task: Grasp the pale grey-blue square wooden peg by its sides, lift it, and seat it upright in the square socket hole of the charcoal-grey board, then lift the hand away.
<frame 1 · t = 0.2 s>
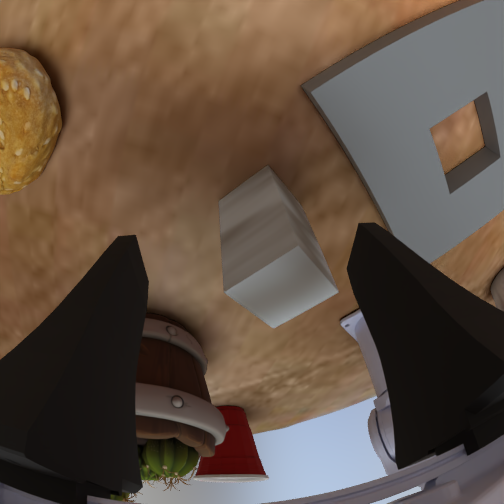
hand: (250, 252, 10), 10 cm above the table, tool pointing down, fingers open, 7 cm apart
peg: (261, 203, 21), on the table
socket board: (453, 133, 18), on the table
bagel: (7, 117, 14), on the table
plastic cup: (224, 410, 44), on the table
flowerpot: (147, 339, 29), on the table
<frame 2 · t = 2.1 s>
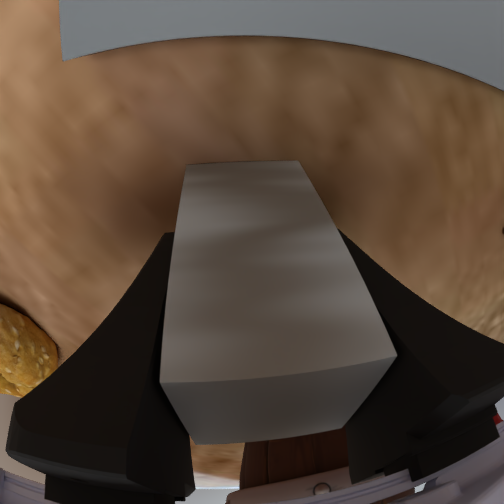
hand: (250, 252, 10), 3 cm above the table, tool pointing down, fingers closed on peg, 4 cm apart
peg: (243, 209, 12), on the table, touching gripper
bagel: (6, 331, 16), on the table
flowerpot: (304, 391, 24), on the table
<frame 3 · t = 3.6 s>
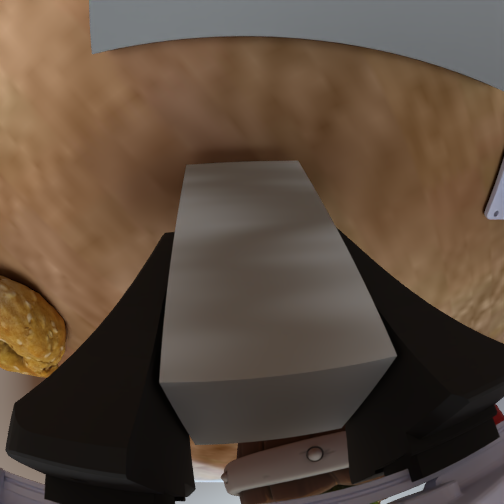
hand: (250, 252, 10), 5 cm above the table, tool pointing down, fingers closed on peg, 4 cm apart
peg: (243, 209, 12), point 2 cm above the table, touching gripper
bagel: (16, 310, 18), on the table
flowerpot: (299, 368, 26), on the table
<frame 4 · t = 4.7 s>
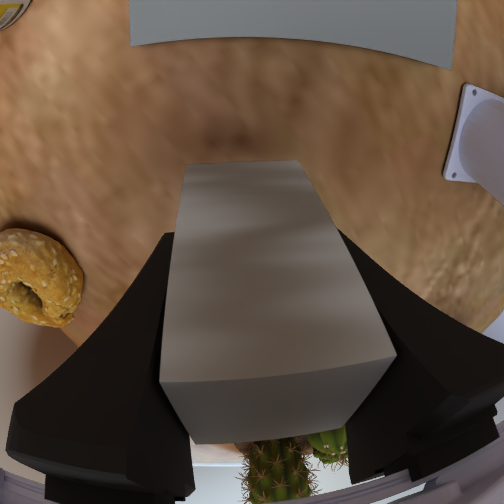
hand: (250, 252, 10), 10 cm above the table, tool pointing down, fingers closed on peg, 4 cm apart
peg: (243, 209, 12), point 8 cm above the table, touching gripper
bagel: (38, 266, 22), on the table
flowerpot: (288, 322, 30), on the table
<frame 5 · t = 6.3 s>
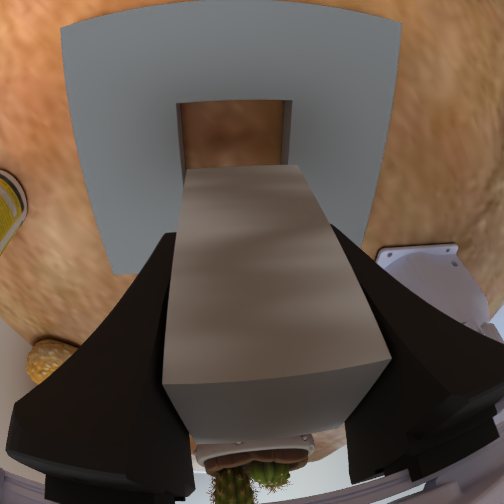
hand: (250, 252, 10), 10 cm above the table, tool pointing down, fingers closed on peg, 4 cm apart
peg: (242, 212, 12), point 8 cm above the table, touching gripper
socket board: (233, 140, 18), on the table
bagel: (67, 357, 32), on the table
supplement bottle: (3, 196, 18), on the table
flowerpot: (247, 388, 39), on the table
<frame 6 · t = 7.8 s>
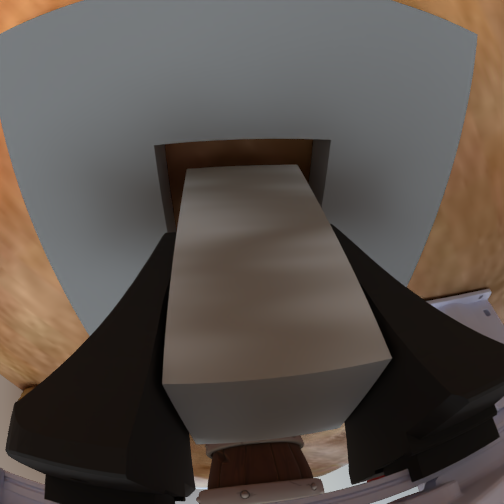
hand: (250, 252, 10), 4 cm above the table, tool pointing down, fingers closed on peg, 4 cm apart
peg: (242, 212, 12), point 2 cm above the table, touching gripper
socket board: (240, 189, 13), on the table
flowerpot: (252, 429, 35), on the table
when the fingers open (4 cm above the table, at t = 8.7 s): peg drops 1 cm, resting in socket board.
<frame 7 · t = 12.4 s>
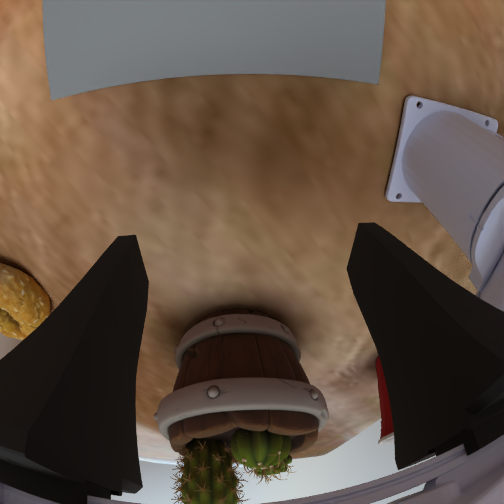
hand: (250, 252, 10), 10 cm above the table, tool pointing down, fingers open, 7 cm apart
bagel: (16, 291, 25), on the table
plastic cup: (393, 353, 37), on the table
flowerpot: (236, 336, 31), on the table
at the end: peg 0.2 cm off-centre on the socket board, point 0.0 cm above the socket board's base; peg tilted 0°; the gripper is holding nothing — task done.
